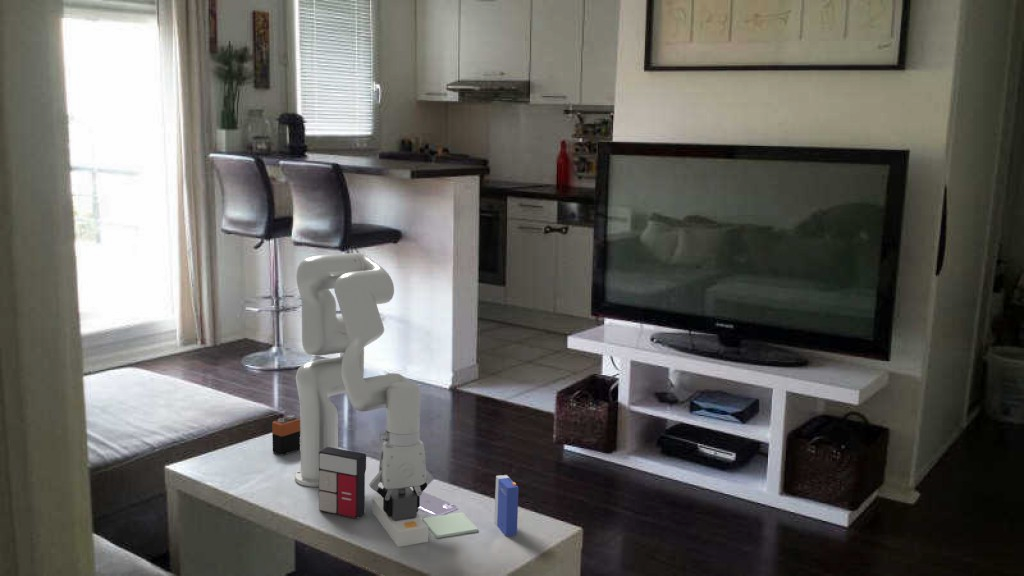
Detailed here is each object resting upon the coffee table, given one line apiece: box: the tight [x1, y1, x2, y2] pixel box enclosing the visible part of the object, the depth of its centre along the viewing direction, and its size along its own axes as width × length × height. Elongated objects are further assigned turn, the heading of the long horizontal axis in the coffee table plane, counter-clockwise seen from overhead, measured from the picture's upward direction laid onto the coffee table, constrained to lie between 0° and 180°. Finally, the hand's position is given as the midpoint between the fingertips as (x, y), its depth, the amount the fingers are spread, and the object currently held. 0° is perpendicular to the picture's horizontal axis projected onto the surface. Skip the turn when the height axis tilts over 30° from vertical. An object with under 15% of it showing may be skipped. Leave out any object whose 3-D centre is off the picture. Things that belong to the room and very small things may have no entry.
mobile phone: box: [418, 491, 459, 516], centre depth 225 cm, size 8×1×15 cm
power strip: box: [371, 496, 429, 548], centre depth 211 cm, size 20×7×4 cm, turn 25°
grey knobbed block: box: [391, 487, 418, 521], centre depth 209 cm, size 6×6×8 cm
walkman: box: [493, 474, 519, 537], centre depth 211 cm, size 8×3×12 cm, turn 21°
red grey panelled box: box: [318, 447, 367, 519], centre depth 217 cm, size 11×4×15 cm, turn 68°
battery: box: [271, 414, 301, 456], centre depth 256 cm, size 4×7×10 cm, turn 145°
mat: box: [421, 511, 479, 539], centre depth 212 cm, size 10×10×1 cm
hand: (401, 511), depth 209 cm, fingers closed on grey knobbed block, 5 cm apart
